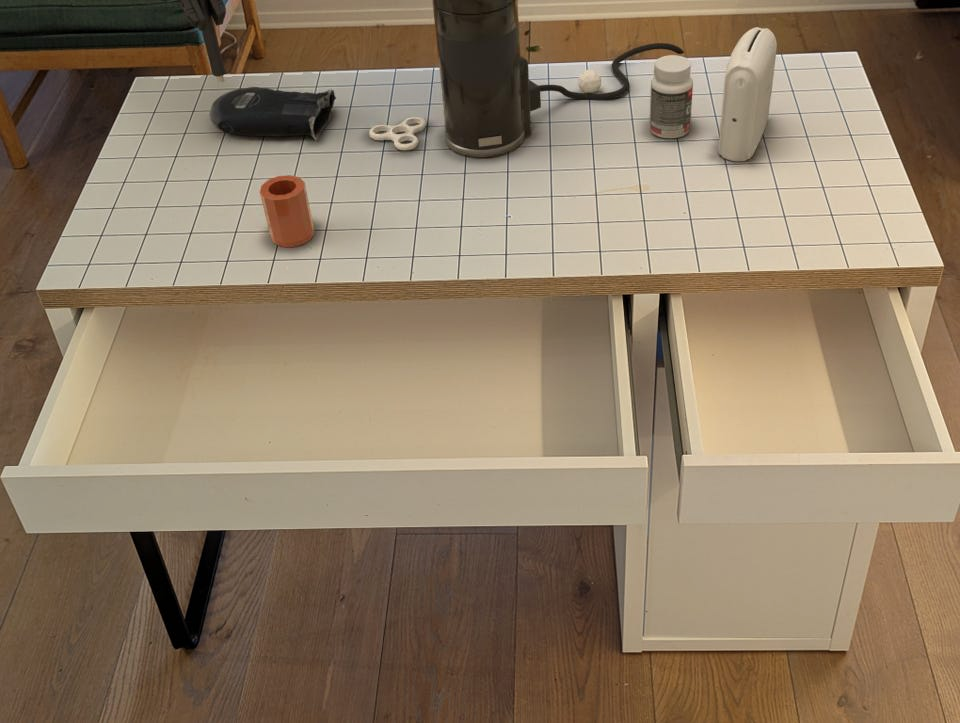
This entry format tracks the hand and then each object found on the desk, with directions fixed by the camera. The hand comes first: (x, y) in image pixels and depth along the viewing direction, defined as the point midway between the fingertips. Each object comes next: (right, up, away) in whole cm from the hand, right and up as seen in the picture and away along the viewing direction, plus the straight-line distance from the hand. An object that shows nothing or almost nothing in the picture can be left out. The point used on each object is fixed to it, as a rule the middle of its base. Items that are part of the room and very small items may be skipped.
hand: (212, 24), depth 121 cm
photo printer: (+60, -13, +3) cm, 62 cm away
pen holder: (+10, -24, -5) cm, 27 cm away
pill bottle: (+52, -11, +5) cm, 54 cm away
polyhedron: (+44, -5, +13) cm, 46 cm away
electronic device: (+4, -8, +13) cm, 16 cm away
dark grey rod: (-1, -5, +7) cm, 8 cm away
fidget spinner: (+21, -11, +8) cm, 25 cm away
